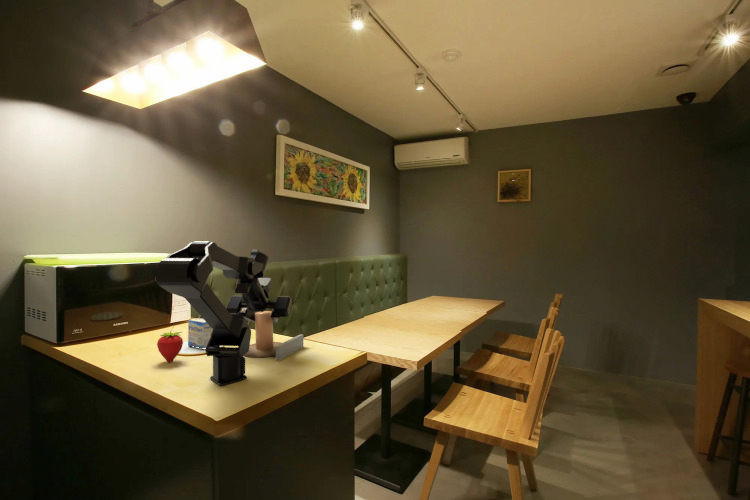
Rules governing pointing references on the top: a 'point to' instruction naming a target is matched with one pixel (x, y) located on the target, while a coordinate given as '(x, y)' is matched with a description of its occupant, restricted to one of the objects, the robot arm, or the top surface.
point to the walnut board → (261, 351)
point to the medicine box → (198, 333)
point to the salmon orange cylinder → (264, 330)
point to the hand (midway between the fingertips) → (266, 321)
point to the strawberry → (170, 345)
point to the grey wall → (289, 347)
